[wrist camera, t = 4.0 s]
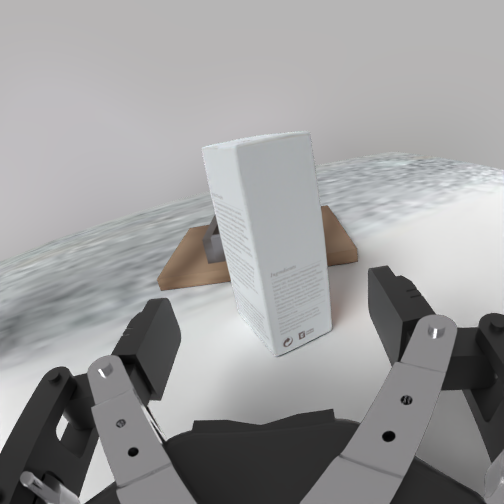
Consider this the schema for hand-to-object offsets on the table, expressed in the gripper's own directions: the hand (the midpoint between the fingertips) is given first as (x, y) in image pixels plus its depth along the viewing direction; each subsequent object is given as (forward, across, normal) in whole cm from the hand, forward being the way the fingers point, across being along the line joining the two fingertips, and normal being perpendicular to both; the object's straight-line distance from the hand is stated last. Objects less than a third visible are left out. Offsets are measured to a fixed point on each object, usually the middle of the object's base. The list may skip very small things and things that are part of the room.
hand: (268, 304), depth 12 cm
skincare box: (+7, 0, +6) cm, 9 cm away
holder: (+21, +2, +6) cm, 22 cm away
